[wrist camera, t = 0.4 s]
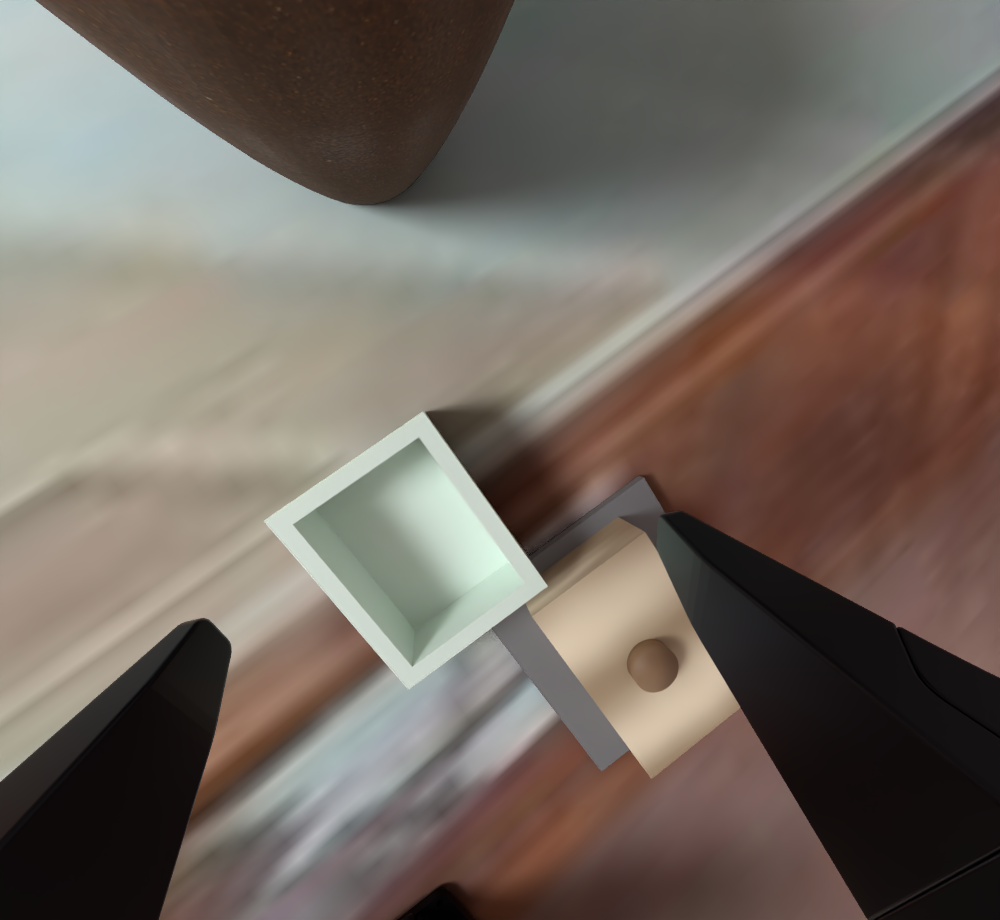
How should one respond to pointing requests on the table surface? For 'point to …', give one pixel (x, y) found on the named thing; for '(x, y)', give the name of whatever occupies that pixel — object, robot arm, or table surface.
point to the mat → (539, 652)
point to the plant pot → (308, 77)
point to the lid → (632, 644)
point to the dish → (409, 550)
